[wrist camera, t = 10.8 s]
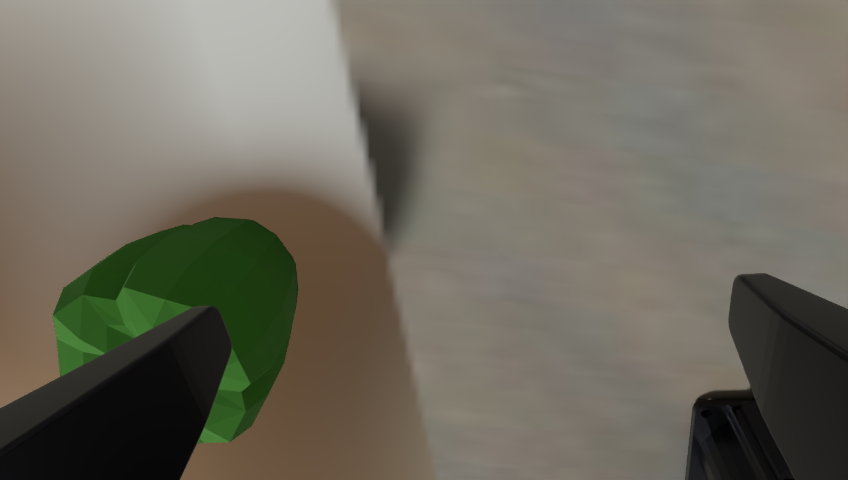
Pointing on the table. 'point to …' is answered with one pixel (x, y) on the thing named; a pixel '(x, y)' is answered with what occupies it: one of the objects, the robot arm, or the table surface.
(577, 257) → the table surface
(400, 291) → the table surface
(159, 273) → the bell pepper
